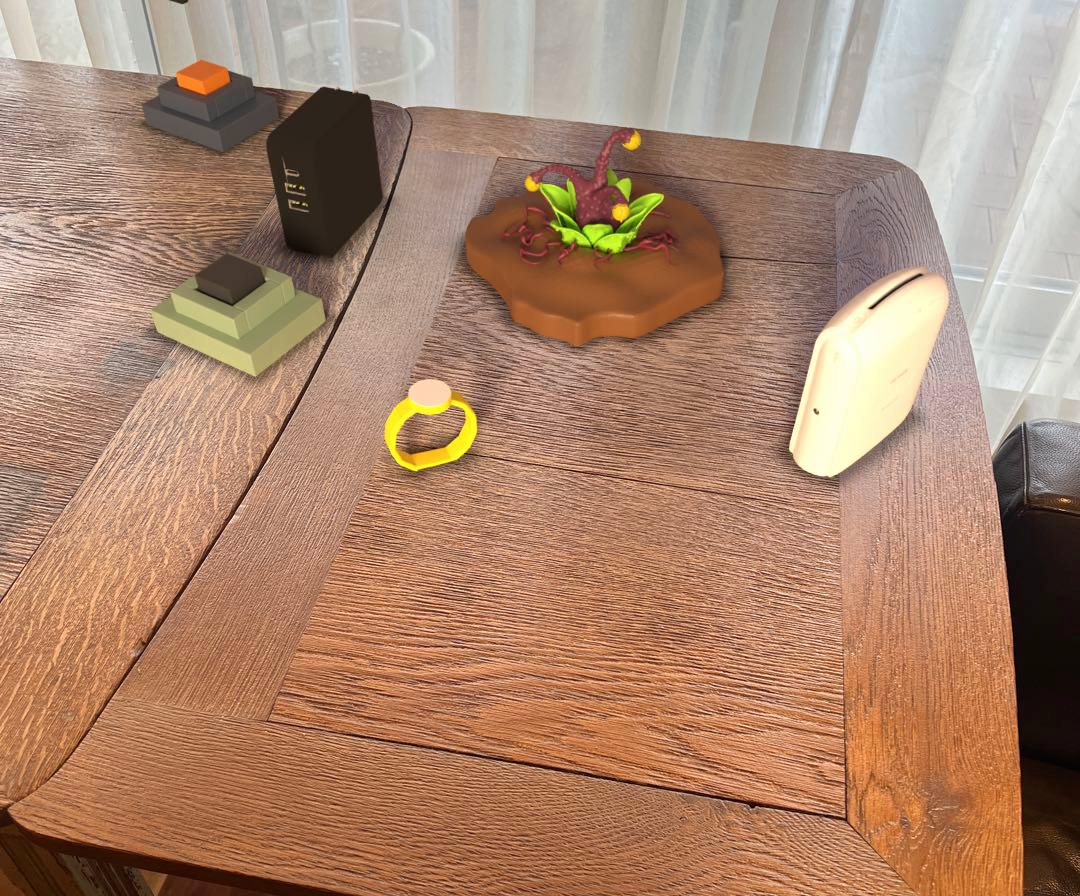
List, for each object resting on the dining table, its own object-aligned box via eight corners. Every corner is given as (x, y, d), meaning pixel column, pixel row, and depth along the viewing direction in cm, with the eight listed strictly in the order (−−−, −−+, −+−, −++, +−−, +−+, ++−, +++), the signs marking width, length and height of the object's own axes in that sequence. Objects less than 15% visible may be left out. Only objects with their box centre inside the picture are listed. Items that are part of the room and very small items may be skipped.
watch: (397, 486, 68) (388, 418, 64) (385, 459, 70) (375, 391, 65) (482, 461, 70) (479, 394, 65) (468, 435, 71) (464, 368, 67)
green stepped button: (157, 333, 79) (142, 289, 76) (230, 282, 83) (219, 238, 80) (255, 378, 75) (244, 334, 72) (326, 322, 80) (318, 278, 77)
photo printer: (828, 489, 68) (875, 338, 59) (776, 456, 70) (814, 305, 61) (916, 418, 73) (972, 268, 63) (865, 389, 75) (913, 239, 65)
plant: (766, 299, 82) (793, 168, 74) (546, 367, 76) (548, 233, 68) (641, 182, 94) (652, 57, 85) (443, 233, 88) (433, 105, 80)
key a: (199, 292, 76) (194, 275, 75) (231, 270, 78) (226, 252, 77) (233, 307, 75) (228, 289, 74) (265, 284, 77) (261, 266, 76)
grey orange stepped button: (147, 126, 100) (135, 85, 97) (205, 94, 105) (196, 54, 102) (223, 153, 97) (213, 112, 94) (280, 119, 101) (272, 79, 98)
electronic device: (286, 252, 86) (262, 138, 79) (342, 193, 92) (325, 82, 85) (331, 262, 85) (311, 147, 78) (384, 202, 91) (370, 90, 84)
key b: (179, 89, 98) (175, 72, 97) (205, 75, 100) (201, 59, 99) (205, 97, 97) (201, 81, 95) (231, 84, 99) (227, 67, 97)
